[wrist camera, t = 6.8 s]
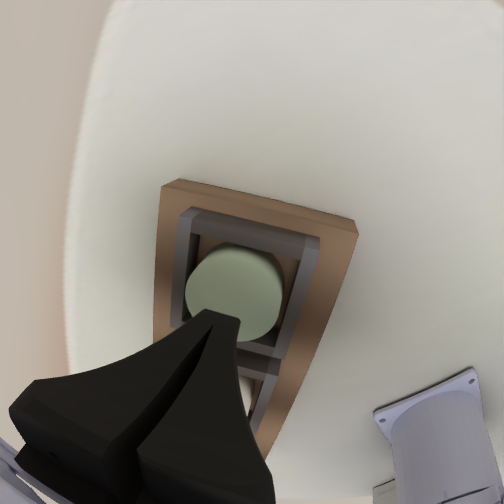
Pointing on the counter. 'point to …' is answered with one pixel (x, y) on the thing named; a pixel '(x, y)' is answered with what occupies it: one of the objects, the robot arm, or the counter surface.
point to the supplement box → (385, 494)
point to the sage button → (238, 287)
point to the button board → (295, 274)
